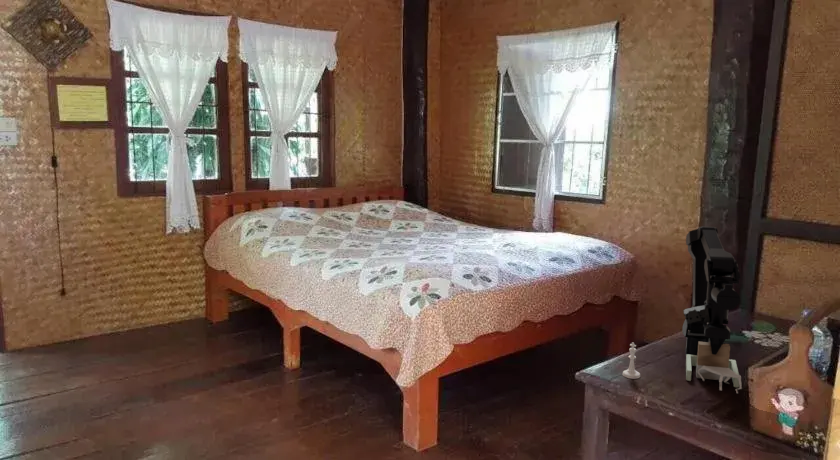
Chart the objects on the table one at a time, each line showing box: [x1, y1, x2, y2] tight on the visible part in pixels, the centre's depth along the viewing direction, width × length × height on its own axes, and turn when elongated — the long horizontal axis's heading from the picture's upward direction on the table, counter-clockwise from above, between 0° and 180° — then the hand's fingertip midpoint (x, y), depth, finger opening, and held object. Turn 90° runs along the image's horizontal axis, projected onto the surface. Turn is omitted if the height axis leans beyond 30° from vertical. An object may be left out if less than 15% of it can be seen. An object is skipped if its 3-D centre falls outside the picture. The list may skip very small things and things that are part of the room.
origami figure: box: [697, 366, 743, 394], centre depth 174 cm, size 12×8×5 cm
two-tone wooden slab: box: [695, 341, 731, 382], centre depth 178 cm, size 8×2×10 cm, turn 72°
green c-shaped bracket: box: [685, 354, 740, 388], centre depth 181 cm, size 13×14×3 cm
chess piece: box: [622, 342, 641, 380], centre depth 181 cm, size 5×5×10 cm
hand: (713, 352), depth 177 cm, fingers closed on two-tone wooden slab, 2 cm apart
